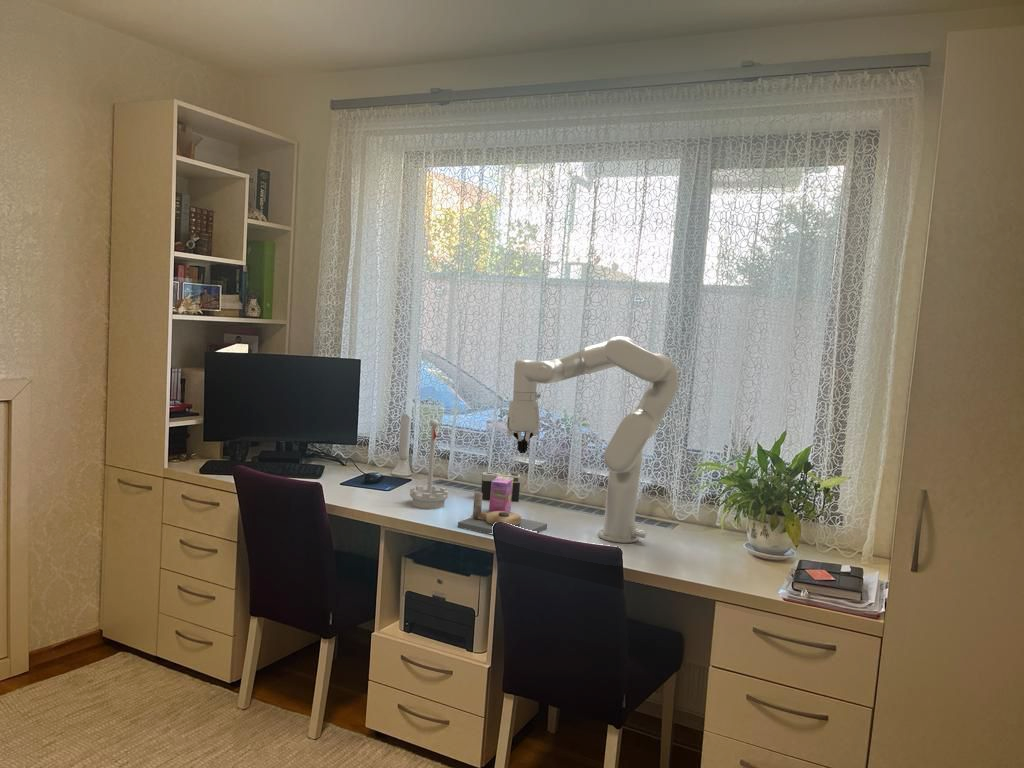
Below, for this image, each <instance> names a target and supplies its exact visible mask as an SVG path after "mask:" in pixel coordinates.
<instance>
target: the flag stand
mask: <svg viewBox="0 0 1024 768" xmlns="http://www.w3.org/2000/svg"><path fill="white" fill-rule="evenodd" d="M429 426H430V427H431V431H430V447H429V460H428V465H429V466H428V474H427V475H428V477H427V487H426V488H424V486H423V485H416V487H413V486H412V487H411V488H410V490H409V492H410V493H409V496H410V498H411V499H412V506H413V507H416V508H419V509H426V510H429V509H430V510H436V509H437V510H438V509H441V508H444V507H445V501H446V500H447V499H449V490H447V488H445V487H440V489H437V486H436V485H433V475H434V462H435V460H434V459H435V450H436V449H435V448H436V439H437V433H436V432H437V428H438V427H439V421H438V420H437V419H435V418H434V419H431V420H430V422H429Z"/></svg>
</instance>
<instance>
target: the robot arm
mask: <svg viewBox="0 0 1024 768" xmlns="http://www.w3.org/2000/svg"><path fill="white" fill-rule="evenodd" d="M615 367H618V368H619V369H622V370H623V371H625V372H627V373H629V374H631V375H633V376H634V377H636V378H639V379H640V380H643V381H645V382H650V383H649V385H648V387H647V389H646V391H645V392H644V393H643V395H642V397H641V400H640V401H639V403H638V404H637V406H636V407H635V409H634V411H632V412H630V413H628V414H627V415H625V417H624V418H623V419H622V421H621V422H620V423H619V425H618V427H617V428H616V430H615V432H614V434H613V436H612V437H611V439H610V441H609V442H608V444H607V446H606V448H605V451H604V453H603V462H604V465H605V467H606V468H607V469H608V470H609V471H608V478H607V486H606V487H607V488H606V490H607V491H606V498H605V499H606V500H605V508H604V509H605V510H604V520H603V521H604V522H603V529H600V530H598V534H597V535H598V537H599V538H601V539H603V540H605V541H609V542H613V543H626V544H627V543H629V544H630V543H635V542H638V540H639V538H641V539H646V538H647V532H646V530H642V529H639V528H638V524H635V523H636V522H635V521H636V513H637V511H636V509H637V501H638V500H637V499H638V490H639V481H640V473H641V469H642V468H641V467H642V461H643V449H644V447H645V446H646V443H647V442H648V440H649V439H650V438H652V437H653V436H654V435H655V434H656V431H657V429H658V428H659V426H660V424H661V421H662V420H663V418H664V416H665V415H666V413H667V411H668V409H669V407H670V405H671V404H672V402H673V400H674V398H675V396H676V393H677V390H678V385H679V375H678V371H677V369H676V366H675V364H674V363H673V361H672V360H671V359H670V358H669V357H668V356H667V355H665V354H663V353H658V352H657V353H655V352H654V353H653V352H651V351H648V350H647V349H644V348H642V347H641V346H639V345H637V344H636V342H635V341H634V340H633V339H632V338H631V337H628V336H619V335H618V336H613V337H612V338H610V339H609V340H606V341H602V342H599V343H596V344H592V345H588V346H585V347H582V348H580V349H579V351H577V352H575V353H574V352H573V354H568V355H566V356H562V357H559V358H555V359H545V360H534V359H525V358H524V359H523V358H522V359H517V360H516V361H515V363H514V369H513V370H514V371H513V392H512V393H513V394H512V395H513V396H512V400H510V402H509V405H508V411H507V420H506V428H507V430H506V434H507V435H508V436H513V437H514V438H515V439H516V440H517V451H518V453H520V454H526V452H527V451H528V444H529V443H528V442H530V441H529V440H530V439H531V438H532V437H534V436H536V437H537V436H539V435H540V430H539V429H540V409H539V402H538V401H537V399H541V393H538V392H537V384H545V385H547V384H554V383H559V382H561V381H566V380H569V379H572V378H577V377H581V376H583V375H590V374H593V373H598V372H600V371H604V370H608V369H613V368H615ZM522 432H523V436H522Z"/></svg>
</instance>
